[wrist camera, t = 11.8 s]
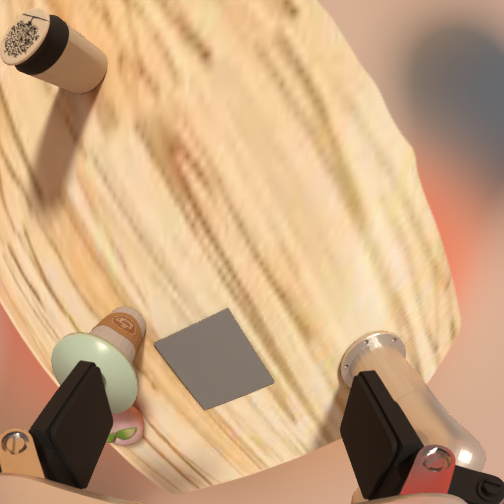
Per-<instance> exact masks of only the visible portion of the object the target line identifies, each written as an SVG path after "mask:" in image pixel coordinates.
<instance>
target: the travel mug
mask: <svg viewBox="0 0 504 504" xmlns="http://www.w3.org/2000/svg"><path fill="white" fill-rule="evenodd" d="M0 55H1V58H2V60H3V62H4V63H5V64H7V65H15V67H16V69H17V70H18V71H20V72H23V73H25V74H28V75H30V76H33V77H36V78H38V79H41V80H43V81H46V82H48V83H51V84H53V85H56V86H58V87H61V88H63V89H65V90H68V91H70V92H73V93H76V94H83V93H86V92H89V91H91V90H92V89H94V88H95V87H96V86H97V85H98V84H99V83H100V82H101V81H102V79H103V77H104V75H105V73H106V70H107V58H106V55H105V54H104V53H103V52H102V51H101V50H100V49H99V48H97V47H96V46H95V45H94V44H92V43H91V42H90V41H89V40H87V39H86V38H85V37H84V36H82V35H81V34H80V33H78V32H77V31H76V30H75V29H73V28H72V27H71V26H69V25H68V24H67V23H66V22H64V21H63V20H62V19H60V18H59V17H58V16H55V15H49V14H48V12H47V11H46V10H45V9H43V8H33V9H30V10H28V11H26V12H24V13H23V14H21V15H20V16H19V17H18V18H17V19H16V20H15V21H14V22H13V23H12V24H11V25H10V27H9V28H8V30H7V31H6V33H5V35H4V37H3V40H2V43H1V48H0Z"/></svg>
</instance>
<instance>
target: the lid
mask: <svg viewBox="0 0 504 504" xmlns="http://www.w3.org/2000/svg"><path fill="white" fill-rule="evenodd" d="M80 360H83V361H89V362H94V363H95V364H96V366H97V367H99V368H100V370H101V374H102V378H103V383H104V387H105V390H106V394H107V398H108V402H109V405H110V409H111V412H112V414H118V413H122V412H124V411H126V410H128V409H129V408H130V407H131V406H132V405H133V403H134V401H135V399H136V397H137V394H138V390H139V382H138V377H137V374H136V371H135V369H134V367H133V365H132V364H131V362H130V361H129V359H128V358H127V357H126V356H125V355H124V354H123V353H122V352H121V351H120V350H119V349H118V348H117V347H116V346H115V345H113V344H112V343H110V342H109V341H107V340H105V339H103V338H101V337H99V336H97V335H94V334H90V333H84V332H77V333H71V334H69V335H66V336H65V337H63V338H62V339H61V340H60V341H59V342H58V343H57V344H56V346H55V347H54V349H53V352H52V359H51V362H52V368H53V372H54V374H55V377H56V379H57V381H58V382H59V384H60V386H61V385H62V383H63V382H64V380H65V379H66V378H67V376H68V375H69V374H70V372H71V371H72V370H73V369H74V367H75V366H76V365H77V363H78V362H79V361H80Z"/></svg>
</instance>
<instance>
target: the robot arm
mask: <svg viewBox="0 0 504 504" xmlns="http://www.w3.org/2000/svg"><path fill="white" fill-rule="evenodd" d="M405 357H406V350H405V346H404V343H403V342H402V340H401V339H400V338H399V337H398V336H397V335H395V334H393V333H391V332H388V331H377V332H373V333H370V334H367V335H365V336H363V337H361V338H360V339H358V340H357V341H356V342H354V343H353V344H352V345H351V346H350V348H349V349H348V350H347V351H346V353H345V355H344V356H343V359H342V362H341V367H340V371H341V376H342V379H343V381H344V383H345V384H346V385H347V386H348V387H350V388H351V390H350V394H349V398H348V401H347V405H346V409H345V412H344V416H343V419H342V423H341V427H340V432H341V436H342V439H343V442H344V445H345V447H346V450H347V453H348V456H349V459H350V462H351V464H352V467H353V470H354V473H355V476H356V479H357V481H358V485H359V487H358V488H357V489H356V491H355V492H354V494H353V496H352V502H351V504H504V482H503V481H502V480H501V479H500V478H498V477H496V476H493V475H489V474H486V473H482V470H483V468H484V465H485V460H486V457H485V452H484V449H483V447H482V445H481V444H480V442H479V441H478V440H477V439H476V438H475V437H474V436H473V435H472V434H471V433H470V432H469V431H467V430H466V429H465V428H464V427H463V426H462V425H460V424H459V423H458V422H457V421H456V420H455V419H454V418H453V417H452V416H451V415H450V414H449V412H448V411H447V410H446V409H445V408H444V407H443V405H442V404H441V403H440V402H439V401H438V399H437V398H436V397H435V395H434V394H433V393H432V392H431V390H430V389H429V388H428V387H427V385H426V384H425V383H424V381H423V380H422V379H421V378H420V376H419V375H418V374H417V373H416V371H415V370H414V369H413V368H412V366H411V365H410V364H409V363H408V361H407V360H406V359H405ZM112 427H113V416H112V412H111V409H110V405H109V402H108V398H107V394H106V390H105V387H104V383H103V378H102V374H101V370H100V368H99V367H97V366H96V364H95V363H94V362H89V361H83V360H80V361H79V362H78V363H77V365H76V366H75V367H74V369H73V370H72V371H71V372H70V374H69V375H68V376H67V378H66V379H65V380H64V382H63V383H62V385H61V386H60V387H59V389H58V390H57V391H56V393H55V394H54V395H53V397H52V398H51V400H50V401H49V402H48V404H47V405H46V406H45V408H44V409H43V411H42V412H41V414H40V415H39V417H38V418H37V419H36V421H35V422H34V424H33V425H32V426H31V429H30V430H29V431H28V432H27V431H25V430H23V429H18V428H15V429H10V430H7V431H5V432H4V433H2V435H1V436H0V504H143V503H138V502H133V501H128V500H123V499H118V498H114V497H109V496H105V495H101V494H97V493H93V492H89V491H85V490H82V489H83V488H84V489H85V488H86V487H87V486H88V483H89V481H90V479H91V476H92V474H93V471H94V469H95V466H96V464H97V462H98V459H99V457H100V455H101V452H102V450H103V447H104V445H105V443H106V441H107V438H108V436H109V434H110V431H111V429H112Z"/></svg>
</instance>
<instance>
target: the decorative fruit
mask: <svg viewBox="0 0 504 504" xmlns="http://www.w3.org/2000/svg"><path fill="white" fill-rule="evenodd" d="M112 416H113V427H112V429H111V431H110V434H109V436H108V438H107V441H106V442H108V443H114V444H117V445H120V446H127V445H131V444H134V443H136V442H137V441H139V440H140V438H141V437H142V435H143V432H144V423H143V419H142V416H141V414H140V412H139V411H138V410H137V409H136V408H135V407H134V406H131V407H130V408H129V409H128V410H126V411H124V412H122V413H118V414H112Z"/></svg>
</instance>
